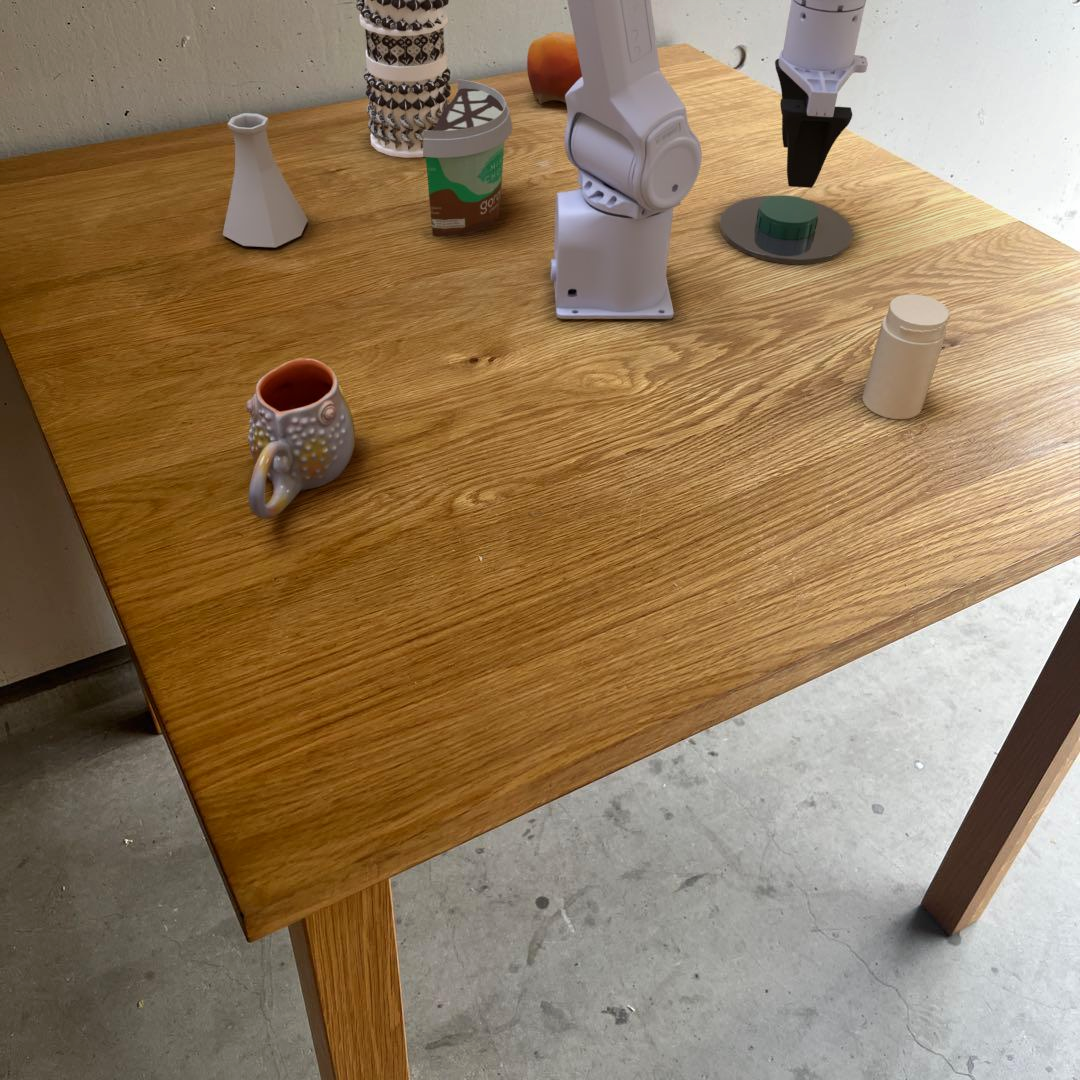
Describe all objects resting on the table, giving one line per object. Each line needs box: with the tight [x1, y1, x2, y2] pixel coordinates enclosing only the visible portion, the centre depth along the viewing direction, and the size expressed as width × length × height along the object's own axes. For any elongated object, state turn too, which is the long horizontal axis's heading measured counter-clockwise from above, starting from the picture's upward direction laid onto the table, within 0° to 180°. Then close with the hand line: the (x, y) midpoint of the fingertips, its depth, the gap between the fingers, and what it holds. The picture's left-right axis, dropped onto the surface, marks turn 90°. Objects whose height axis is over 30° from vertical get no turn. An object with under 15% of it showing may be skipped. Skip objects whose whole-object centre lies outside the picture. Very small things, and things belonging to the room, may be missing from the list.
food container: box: [422, 78, 513, 237], centre depth 98 cm, size 12×6×10 cm, turn 168°
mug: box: [245, 357, 356, 520], centre depth 71 cm, size 12×7×7 cm, turn 167°
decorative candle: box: [356, 0, 452, 159], centre depth 104 cm, size 9×9×25 cm
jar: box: [861, 293, 951, 420], centre depth 79 cm, size 4×4×8 cm
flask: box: [222, 112, 309, 248], centre depth 95 cm, size 7×7×10 cm
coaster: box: [718, 195, 854, 265], centre depth 100 cm, size 12×12×1 cm
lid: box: [756, 195, 818, 240], centre depth 100 cm, size 5×5×2 cm
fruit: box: [526, 31, 582, 106], centre depth 119 cm, size 8×8×8 cm
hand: (797, 165), depth 96 cm, fingers open, 7 cm apart
